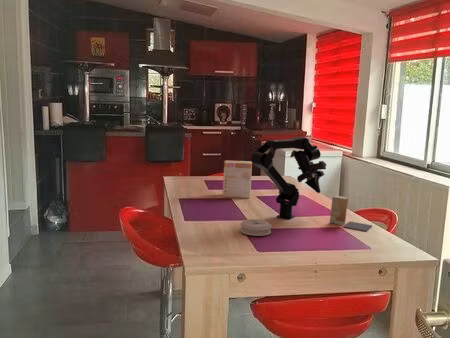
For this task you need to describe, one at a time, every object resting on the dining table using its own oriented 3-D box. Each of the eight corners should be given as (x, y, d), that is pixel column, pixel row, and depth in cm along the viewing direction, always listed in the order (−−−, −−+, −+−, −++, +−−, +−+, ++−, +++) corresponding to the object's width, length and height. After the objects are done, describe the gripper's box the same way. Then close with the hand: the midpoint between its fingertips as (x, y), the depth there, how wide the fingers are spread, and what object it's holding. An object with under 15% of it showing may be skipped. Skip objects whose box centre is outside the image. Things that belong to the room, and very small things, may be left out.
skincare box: (329, 223, 204) (331, 196, 202) (331, 221, 207) (334, 195, 205) (343, 225, 201) (346, 198, 199) (345, 223, 204) (348, 197, 202)
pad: (366, 231, 193) (366, 230, 193) (343, 227, 198) (343, 226, 198) (371, 226, 201) (372, 225, 201) (349, 222, 206) (349, 221, 206)
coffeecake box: (250, 195, 252) (252, 161, 249) (249, 198, 245) (251, 163, 242) (223, 194, 253) (225, 159, 250) (222, 196, 246) (223, 161, 243)
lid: (252, 226, 194) (252, 215, 193) (276, 233, 186) (277, 221, 185) (234, 233, 184) (234, 221, 184) (259, 240, 177) (260, 227, 176)
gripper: (310, 154, 198) (326, 186, 195) (325, 154, 214) (341, 183, 210) (290, 166, 204) (305, 197, 200) (306, 165, 219) (321, 194, 216)
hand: (319, 192), depth 206 cm, fingers closed
